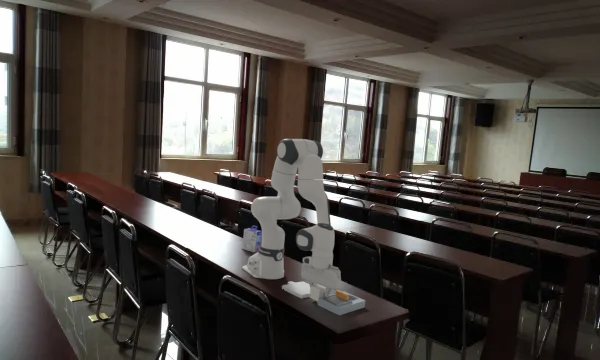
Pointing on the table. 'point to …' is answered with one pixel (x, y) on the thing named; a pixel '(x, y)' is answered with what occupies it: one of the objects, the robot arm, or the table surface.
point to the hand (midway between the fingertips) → (319, 294)
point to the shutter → (338, 298)
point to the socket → (342, 304)
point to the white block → (317, 292)
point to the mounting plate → (298, 289)
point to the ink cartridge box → (252, 239)
